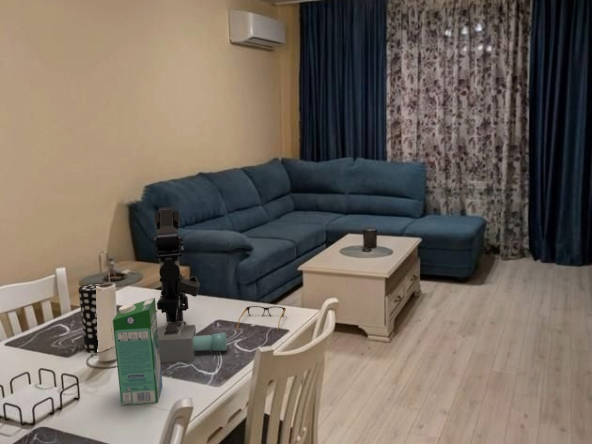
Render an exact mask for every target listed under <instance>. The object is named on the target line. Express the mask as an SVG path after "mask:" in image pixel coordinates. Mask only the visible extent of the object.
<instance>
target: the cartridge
mask: <svg viewBox="0 0 592 444" xmlns="http://www.w3.org/2000/svg"><path fill="white" fill-rule="evenodd" d="M193 348H194V351H195V352H199V351H212V352H219V351H221V352H222V351H227V333H226V332H221V333H219V332H218V333H211V334H210V335H208V334H207V335H196V336H193Z"/></svg>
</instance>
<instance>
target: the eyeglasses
mask: <svg viewBox="0 0 592 444" xmlns="http://www.w3.org/2000/svg"><path fill="white" fill-rule="evenodd" d="M251 308H261V309H263V313H262V315H261V317H263V316H264V315H265V312H266V311H267V312H268V315H269V317H272V315H271V313H270V311H269V310H270V309H272V308H275V306H270V307H264V306H259V305H251V306H246V307H245V309H244V311H242V314H241V315H240V316H239V317H238V321H237V327H236V330H237V331H238V330H239V323H240V320H241V318H242V317H243V315H244V314H245V313H246V311H247V313H248V316H249V317H252V315H251V314H250V309H251ZM277 308H278V309H282V313H281V314H280V317H279V321H278V325H277V331H278V330H279V329H280V323H281V319H282V318H283V317H284V316H285V311H286V307H283V306H277Z"/></svg>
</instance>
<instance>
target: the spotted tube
mask: <svg viewBox="0 0 592 444" xmlns="http://www.w3.org/2000/svg"><path fill="white" fill-rule="evenodd" d="M102 284H105V282H104V283H103V282H94V283H87V284H84V285H82V286H79V287H78V290H77V291H78V297H79V298H78V299H79V306H80V307H79V308H80V314H81V315H80V316H81V324H82V334H83V341H84V349H85V352H87V353H89V354H98V353H97V349H98V340H97V314H96V286H98V285H102Z"/></svg>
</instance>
